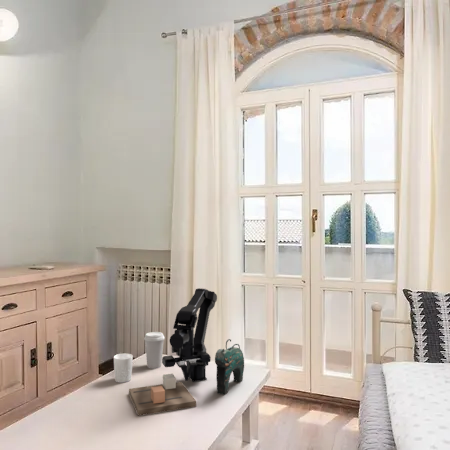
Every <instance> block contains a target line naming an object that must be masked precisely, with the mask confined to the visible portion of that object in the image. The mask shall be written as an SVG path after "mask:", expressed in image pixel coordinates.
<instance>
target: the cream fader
mask: <svg viewBox="0 0 450 450" xmlns="http://www.w3.org/2000/svg"><path fill="white" fill-rule="evenodd" d="M176 382H177V378H176V376H175V375H174V373H167V374H166V373H165V374H163V375H162V384H163V386H164V388H165V389H173V388H176Z"/></svg>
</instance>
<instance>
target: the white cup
mask: <svg viewBox="0 0 450 450" xmlns="http://www.w3.org/2000/svg"><path fill="white" fill-rule="evenodd" d="M133 357H134V356H133V354H131V353H118V354H116V355H114V356H113V371H114V381H115V382H117V383H122V384H123V383H127V382H130V381H131V380H132V373H133Z"/></svg>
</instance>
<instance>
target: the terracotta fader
mask: <svg viewBox="0 0 450 450" xmlns="http://www.w3.org/2000/svg"><path fill="white" fill-rule="evenodd" d="M151 399H152V401H153V403H154V404H155V403H162V402H165V390H164V389H163V387H162V386H157V387H151Z"/></svg>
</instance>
